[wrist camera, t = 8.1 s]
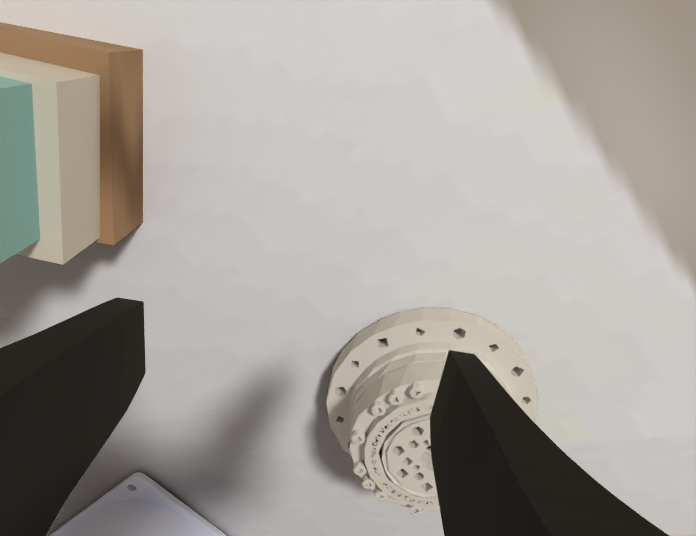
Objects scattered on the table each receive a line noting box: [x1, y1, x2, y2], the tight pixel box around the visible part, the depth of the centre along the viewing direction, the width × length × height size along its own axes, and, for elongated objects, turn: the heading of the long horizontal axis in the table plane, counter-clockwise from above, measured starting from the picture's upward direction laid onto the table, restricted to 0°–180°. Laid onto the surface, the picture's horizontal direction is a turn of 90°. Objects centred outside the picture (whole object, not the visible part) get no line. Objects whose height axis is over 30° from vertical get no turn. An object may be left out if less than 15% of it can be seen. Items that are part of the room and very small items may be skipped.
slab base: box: [0, 23, 143, 246], centre depth 19 cm, size 7×7×3 cm
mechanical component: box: [326, 308, 539, 515], centre depth 23 cm, size 10×4×10 cm
